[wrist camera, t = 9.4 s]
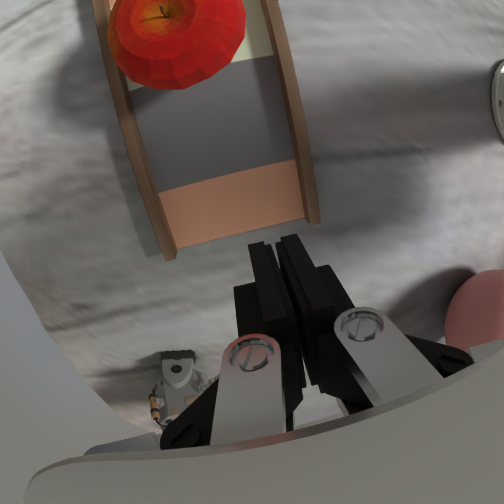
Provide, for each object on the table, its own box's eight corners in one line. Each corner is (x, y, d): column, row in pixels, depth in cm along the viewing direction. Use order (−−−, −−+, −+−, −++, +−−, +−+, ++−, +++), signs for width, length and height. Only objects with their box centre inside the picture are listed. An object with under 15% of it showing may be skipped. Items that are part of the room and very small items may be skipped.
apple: (171, -16, 19) (130, -73, 8) (263, 17, 21) (281, -32, 10) (124, 70, 23) (54, 64, 12) (214, 106, 25) (195, 115, 14)
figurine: (243, 388, 42) (256, 480, 29) (164, 392, 41) (159, 484, 28) (239, 344, 38) (255, 450, 25) (149, 349, 37) (135, 453, 24)
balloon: (416, 363, 46) (457, 430, 32) (432, 267, 36) (503, 340, 23) (479, 332, 46) (523, 386, 32) (502, 239, 36) (569, 292, 23)
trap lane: (249, -73, 16) (251, -83, 14) (313, 214, 31) (320, 222, 29) (93, -33, 16) (86, -41, 14) (168, 250, 31) (165, 261, 29)
